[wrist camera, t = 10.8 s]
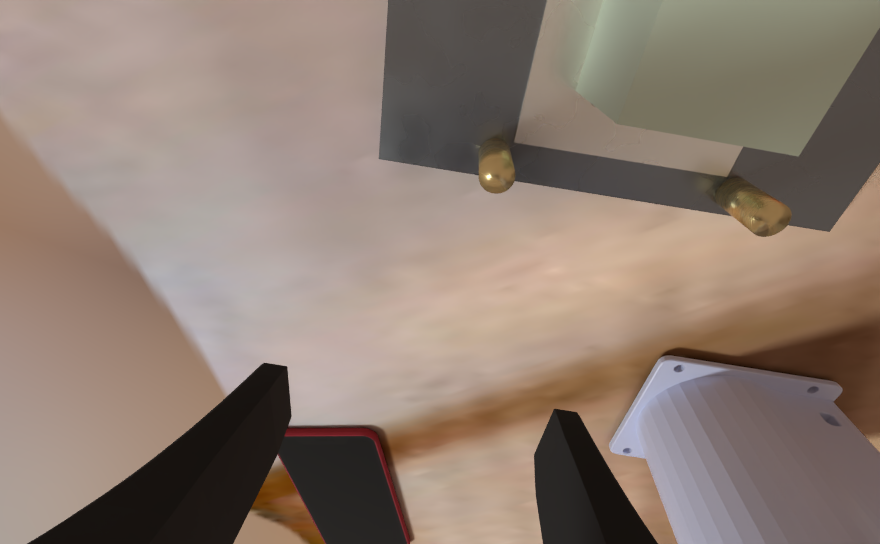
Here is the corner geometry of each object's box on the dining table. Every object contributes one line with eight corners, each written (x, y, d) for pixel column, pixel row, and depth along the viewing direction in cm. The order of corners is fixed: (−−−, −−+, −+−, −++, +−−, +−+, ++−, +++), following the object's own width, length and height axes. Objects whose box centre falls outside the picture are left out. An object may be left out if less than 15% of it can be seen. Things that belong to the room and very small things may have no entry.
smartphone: (326, 547, 35) (265, 434, 27) (329, 535, 36) (271, 423, 28) (411, 549, 34) (374, 434, 26) (412, 538, 35) (377, 422, 27)
